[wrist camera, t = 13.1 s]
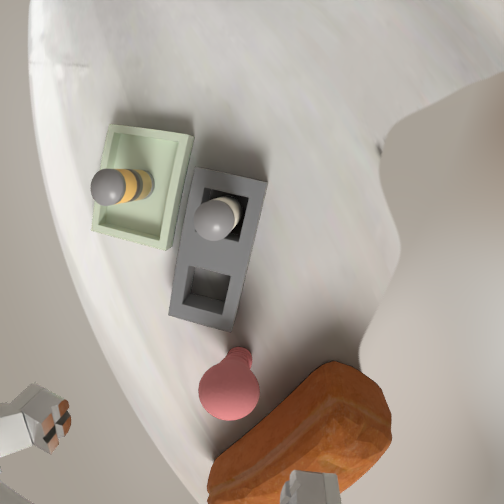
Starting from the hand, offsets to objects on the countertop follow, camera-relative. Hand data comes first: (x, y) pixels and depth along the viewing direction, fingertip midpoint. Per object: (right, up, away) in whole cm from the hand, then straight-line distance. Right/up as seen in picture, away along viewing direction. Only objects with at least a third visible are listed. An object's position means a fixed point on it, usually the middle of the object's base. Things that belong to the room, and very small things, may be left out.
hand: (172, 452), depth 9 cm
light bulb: (+1, -8, +34) cm, 35 cm away
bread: (+9, -24, +37) cm, 45 cm away
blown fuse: (-11, +15, +29) cm, 34 cm away
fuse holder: (-1, +7, +30) cm, 31 cm away
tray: (-11, +15, +29) cm, 35 cm away
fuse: (0, +12, +29) cm, 32 cm away
